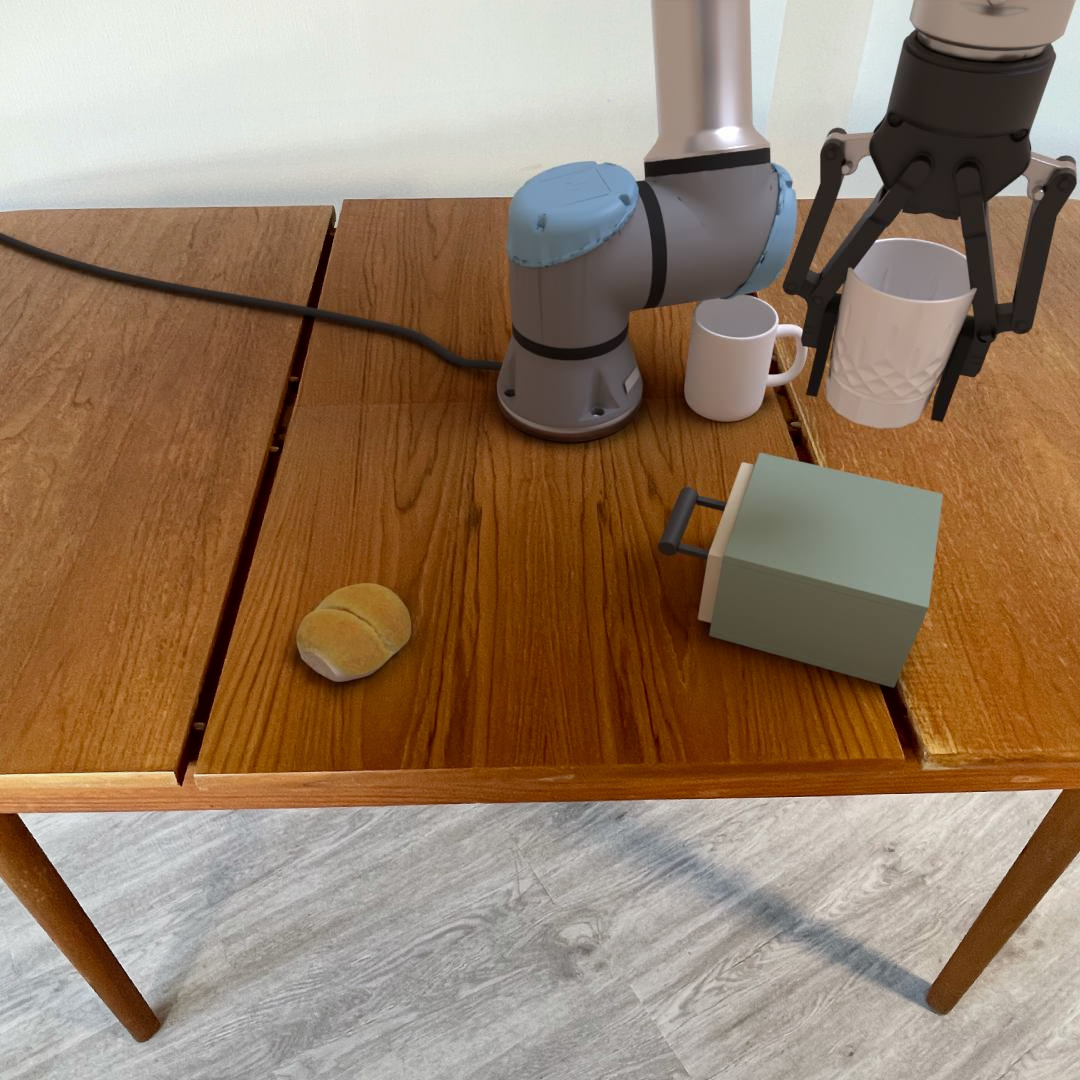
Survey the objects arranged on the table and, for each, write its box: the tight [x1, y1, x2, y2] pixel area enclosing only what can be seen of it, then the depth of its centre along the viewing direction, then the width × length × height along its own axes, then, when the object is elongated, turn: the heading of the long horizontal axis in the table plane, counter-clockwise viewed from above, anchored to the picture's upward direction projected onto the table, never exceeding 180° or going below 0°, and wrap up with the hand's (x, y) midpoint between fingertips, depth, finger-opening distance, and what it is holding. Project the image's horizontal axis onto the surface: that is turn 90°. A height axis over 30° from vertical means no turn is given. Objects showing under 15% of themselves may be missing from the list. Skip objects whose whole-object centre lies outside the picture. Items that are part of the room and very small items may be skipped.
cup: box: [683, 294, 809, 423], centre depth 94 cm, size 8×12×10 cm
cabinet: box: [708, 452, 944, 688], centre depth 74 cm, size 15×13×10 cm
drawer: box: [657, 461, 755, 624], centre depth 75 cm, size 18×11×8 cm, turn 69°
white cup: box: [825, 237, 977, 429], centre depth 60 cm, size 8×8×10 cm
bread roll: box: [296, 582, 412, 683], centre depth 74 cm, size 8×9×4 cm
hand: (875, 396), depth 64 cm, fingers closed on white cup, 8 cm apart
